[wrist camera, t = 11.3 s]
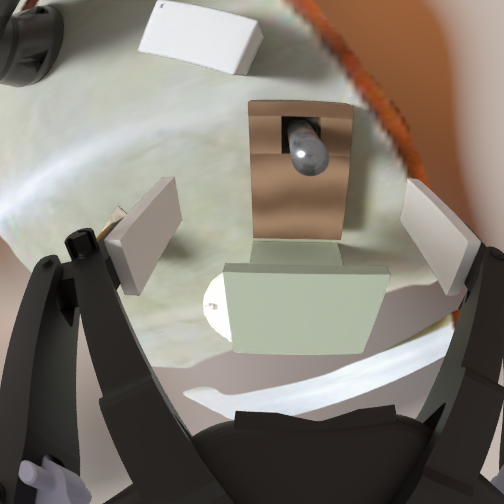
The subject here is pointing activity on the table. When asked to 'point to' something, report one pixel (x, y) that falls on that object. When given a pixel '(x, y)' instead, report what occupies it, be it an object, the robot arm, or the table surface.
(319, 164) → the peg
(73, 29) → the table surface
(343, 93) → the table surface
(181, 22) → the skincare box
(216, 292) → the white round plaque
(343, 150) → the socket block
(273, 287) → the pale green angled bracket
